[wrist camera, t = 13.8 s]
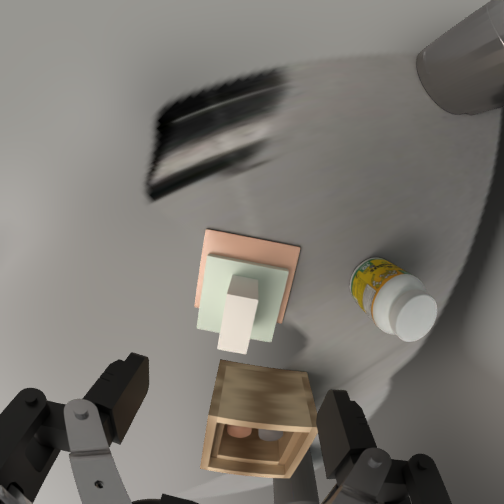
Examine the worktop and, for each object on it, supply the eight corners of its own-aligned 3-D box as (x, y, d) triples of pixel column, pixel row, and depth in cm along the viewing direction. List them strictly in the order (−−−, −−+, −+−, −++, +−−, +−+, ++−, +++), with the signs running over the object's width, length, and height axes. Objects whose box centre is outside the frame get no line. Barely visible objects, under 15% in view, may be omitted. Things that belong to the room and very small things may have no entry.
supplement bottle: (345, 305, 27) (380, 353, 18) (351, 255, 26) (394, 286, 17) (389, 303, 27) (434, 345, 18) (396, 256, 26) (449, 284, 17)
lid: (287, 268, 26) (296, 290, 20) (270, 337, 28) (273, 371, 22) (209, 253, 26) (195, 270, 20) (198, 323, 27) (185, 354, 22)
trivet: (299, 246, 26) (300, 247, 26) (281, 321, 28) (281, 323, 27) (206, 228, 26) (205, 229, 25) (195, 305, 27) (194, 307, 27)
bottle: (282, 467, 33) (287, 541, 19) (265, 452, 32) (266, 534, 18) (316, 455, 33) (330, 532, 18) (301, 439, 32) (313, 525, 17)
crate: (306, 372, 29) (320, 427, 20) (284, 426, 31) (289, 478, 22) (220, 359, 29) (208, 414, 20) (210, 416, 31) (200, 468, 22)
